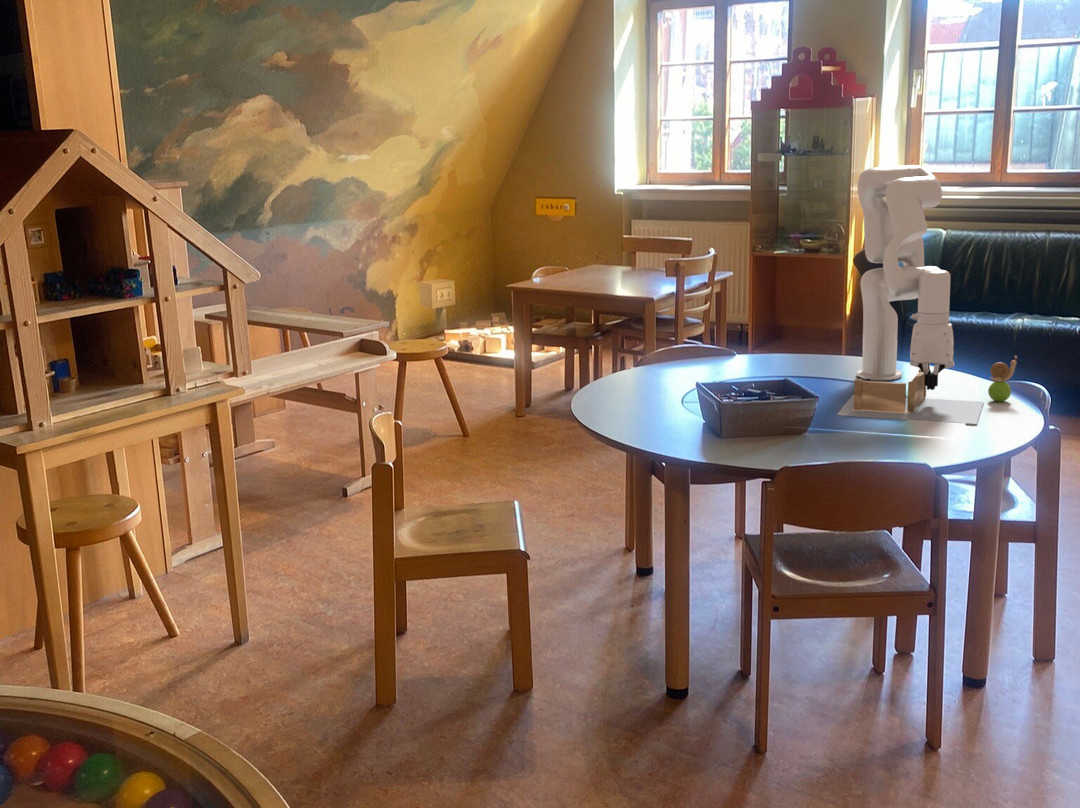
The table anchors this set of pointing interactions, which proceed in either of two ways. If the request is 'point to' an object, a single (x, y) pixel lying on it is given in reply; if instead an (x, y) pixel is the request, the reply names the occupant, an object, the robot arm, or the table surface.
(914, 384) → the hinged fence panel
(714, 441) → the table surface
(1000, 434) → the table surface
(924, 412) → the card
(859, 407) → the fixed fence section
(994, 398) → the snail figurine
